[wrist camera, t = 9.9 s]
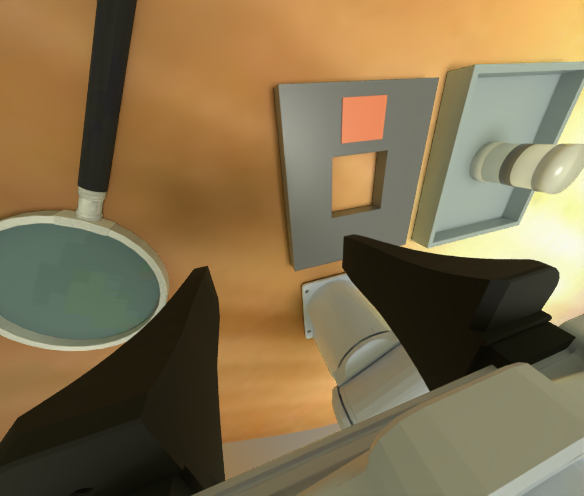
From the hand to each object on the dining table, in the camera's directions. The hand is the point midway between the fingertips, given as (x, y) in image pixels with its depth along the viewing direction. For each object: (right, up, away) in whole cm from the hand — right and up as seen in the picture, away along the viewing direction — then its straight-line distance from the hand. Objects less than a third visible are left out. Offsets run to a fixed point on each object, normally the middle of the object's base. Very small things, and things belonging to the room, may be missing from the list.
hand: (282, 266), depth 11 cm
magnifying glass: (-14, +6, +5) cm, 16 cm away
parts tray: (+23, +11, +14) cm, 29 cm away
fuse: (+23, +11, +14) cm, 29 cm away
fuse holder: (+6, +8, +11) cm, 14 cm away
